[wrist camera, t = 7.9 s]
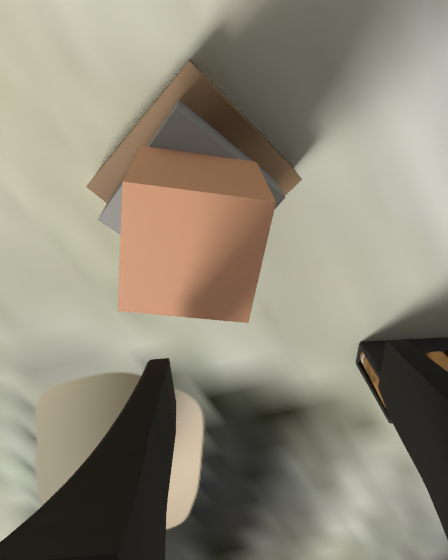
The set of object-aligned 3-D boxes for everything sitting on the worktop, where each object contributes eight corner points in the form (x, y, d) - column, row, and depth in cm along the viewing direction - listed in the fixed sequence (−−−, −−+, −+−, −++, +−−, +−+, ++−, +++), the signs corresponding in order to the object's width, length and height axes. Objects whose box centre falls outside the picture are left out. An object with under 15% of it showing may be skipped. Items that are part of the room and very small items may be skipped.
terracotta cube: (256, 162, 16) (275, 201, 12) (236, 262, 19) (248, 322, 15) (140, 145, 16) (122, 181, 12) (134, 251, 18) (118, 311, 14)
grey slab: (275, 179, 19) (285, 197, 17) (203, 263, 21) (203, 288, 19) (178, 99, 17) (175, 107, 15) (109, 199, 19) (97, 219, 17)
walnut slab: (291, 165, 21) (302, 179, 19) (199, 254, 24) (200, 276, 22) (189, 59, 19) (188, 61, 17) (97, 171, 21) (86, 186, 19)
